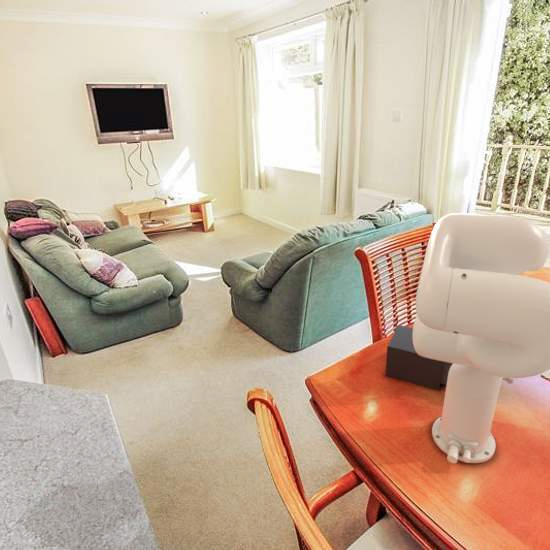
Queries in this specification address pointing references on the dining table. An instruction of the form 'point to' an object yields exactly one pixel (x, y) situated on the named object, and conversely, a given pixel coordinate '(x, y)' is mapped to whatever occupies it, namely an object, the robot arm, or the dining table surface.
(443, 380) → the basket
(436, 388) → the dark grey box
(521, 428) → the dining table surface
